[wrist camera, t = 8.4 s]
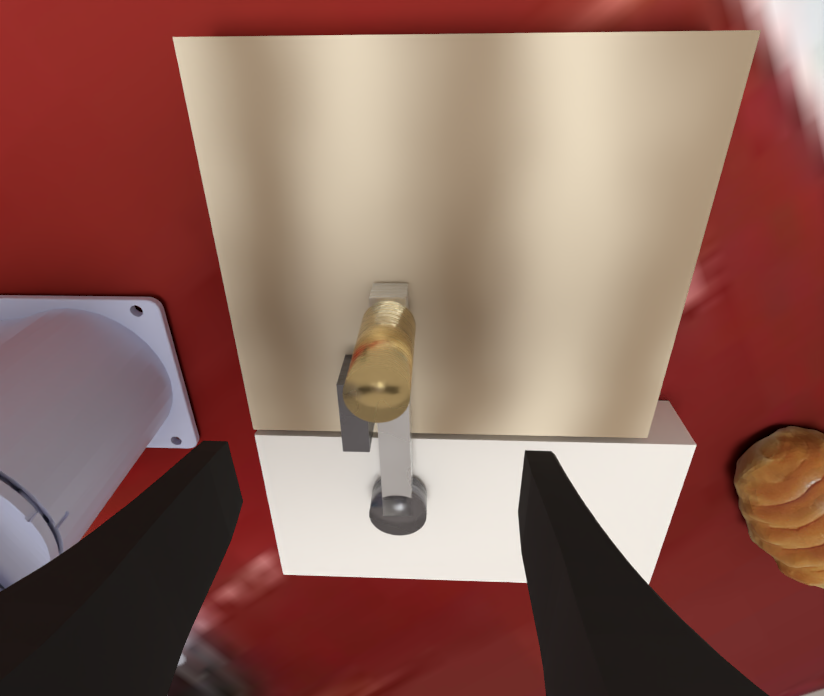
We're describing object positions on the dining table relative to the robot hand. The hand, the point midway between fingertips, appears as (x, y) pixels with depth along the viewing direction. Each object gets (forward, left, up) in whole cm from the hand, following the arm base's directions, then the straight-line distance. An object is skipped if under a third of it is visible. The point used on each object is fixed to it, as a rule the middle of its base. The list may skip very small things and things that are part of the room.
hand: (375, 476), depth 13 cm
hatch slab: (+2, +2, -10) cm, 11 cm away
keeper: (-1, -3, -7) cm, 8 cm away
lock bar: (0, -4, -7) cm, 8 cm away
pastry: (+20, -11, -11) cm, 25 cm away
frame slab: (+3, -10, -10) cm, 14 cm away
